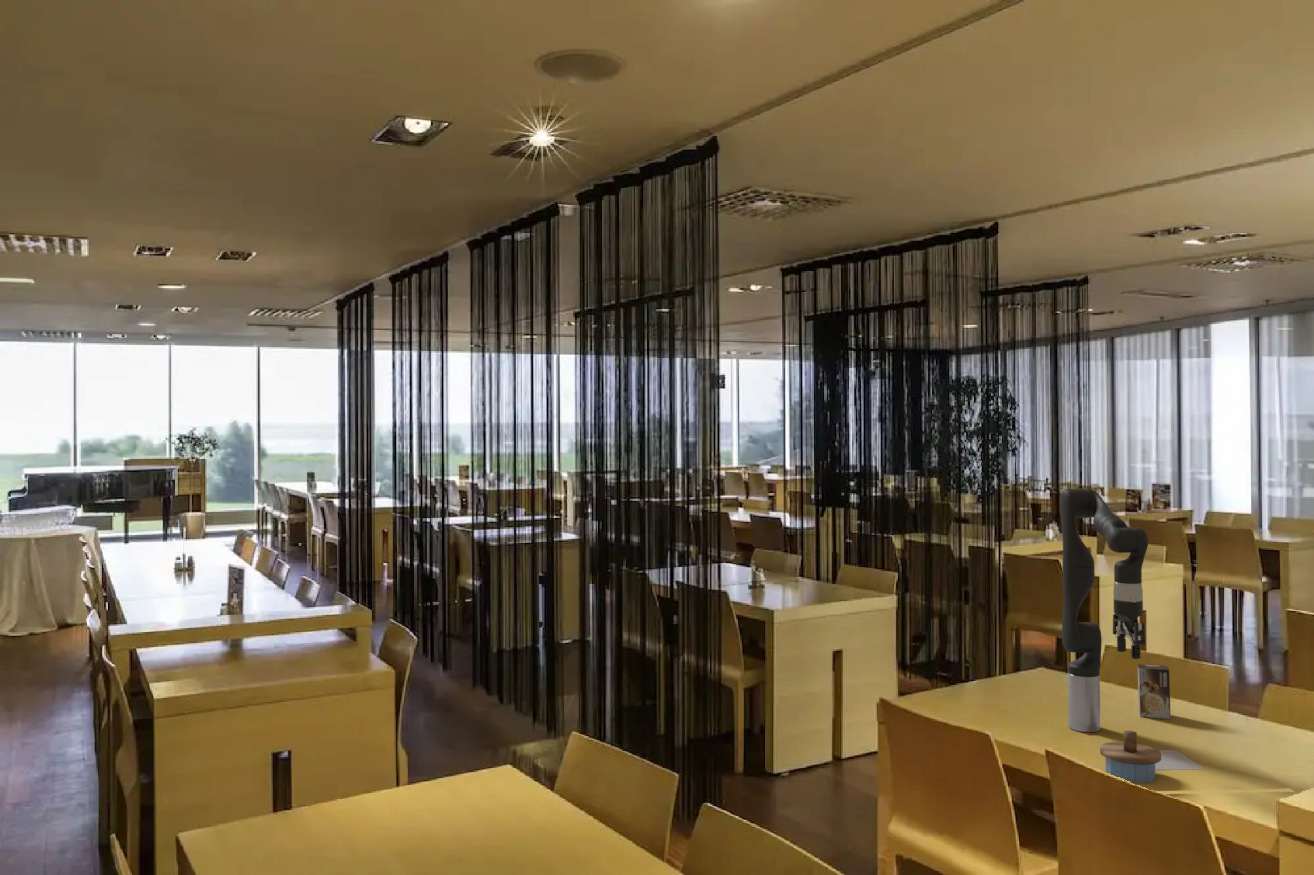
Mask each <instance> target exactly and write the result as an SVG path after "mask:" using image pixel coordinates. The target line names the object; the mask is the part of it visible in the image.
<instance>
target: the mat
mask: <svg viewBox="0 0 1314 875" xmlns="http://www.w3.org/2000/svg"><path fill="white" fill-rule="evenodd" d="M1157 750H1158V751H1160V752H1161V761H1160V762H1158V763H1155V766H1156V771H1177V770H1178V771H1186V770H1188V771H1191V770H1192V771H1193V770H1194V771H1195V770H1198V771H1199V770H1205V768H1204V767H1203V766H1201V765H1200V764H1198V763H1197V762H1195V761H1193V760H1192V759H1191V758H1189V757H1187V756H1186V755H1184V754H1182V753H1180V752H1179V751H1177V750H1176V749H1157Z"/></svg>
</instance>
